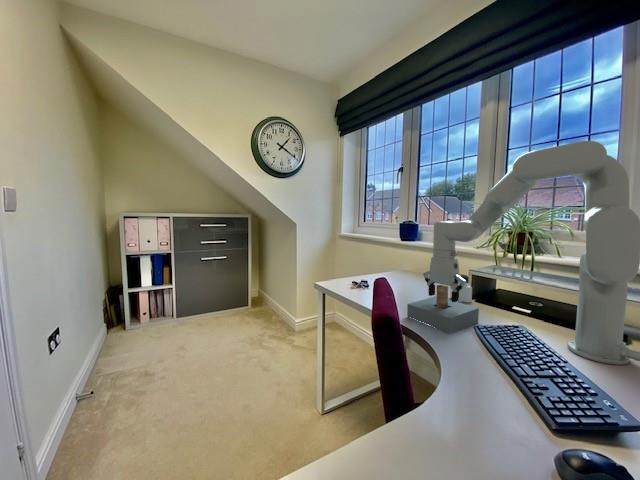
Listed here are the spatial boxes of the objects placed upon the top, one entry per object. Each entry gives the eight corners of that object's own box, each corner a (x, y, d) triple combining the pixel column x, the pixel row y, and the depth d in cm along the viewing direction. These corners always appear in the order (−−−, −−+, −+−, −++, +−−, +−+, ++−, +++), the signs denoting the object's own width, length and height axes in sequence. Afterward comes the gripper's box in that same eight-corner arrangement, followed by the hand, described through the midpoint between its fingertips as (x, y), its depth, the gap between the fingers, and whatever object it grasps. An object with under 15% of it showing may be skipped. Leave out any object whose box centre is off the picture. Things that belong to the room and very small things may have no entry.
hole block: (478, 322, 103) (478, 308, 103) (449, 333, 94) (449, 318, 93) (435, 308, 118) (436, 296, 118) (407, 317, 109) (407, 303, 108)
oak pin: (449, 317, 105) (450, 286, 104) (443, 319, 103) (444, 288, 102) (440, 314, 109) (440, 284, 108) (434, 316, 107) (434, 286, 106)
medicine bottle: (465, 297, 133) (466, 273, 132) (471, 302, 126) (472, 276, 125) (449, 297, 134) (450, 273, 133) (455, 302, 127) (456, 276, 125)
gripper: (472, 255, 98) (470, 302, 100) (430, 250, 113) (429, 291, 114) (460, 257, 94) (458, 306, 96) (418, 252, 109) (417, 294, 111)
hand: (442, 298), depth 105 cm, fingers open, 9 cm apart
